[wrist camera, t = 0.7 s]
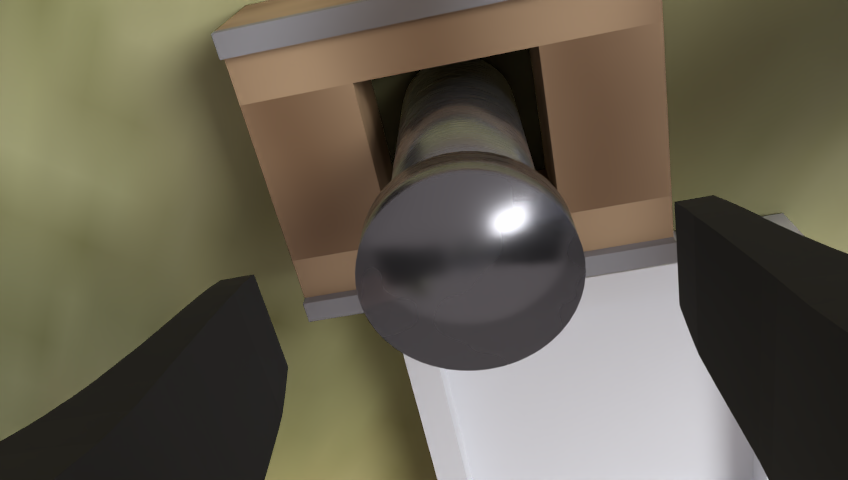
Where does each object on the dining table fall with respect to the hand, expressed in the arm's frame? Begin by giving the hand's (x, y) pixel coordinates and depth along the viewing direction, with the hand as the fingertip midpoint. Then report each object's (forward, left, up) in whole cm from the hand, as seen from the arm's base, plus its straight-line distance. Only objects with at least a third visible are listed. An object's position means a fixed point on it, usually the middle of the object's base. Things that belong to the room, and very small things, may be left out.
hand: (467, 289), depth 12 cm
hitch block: (0, 0, -9) cm, 9 cm away
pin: (0, 0, -9) cm, 9 cm away
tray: (-3, +11, -9) cm, 15 cm away
